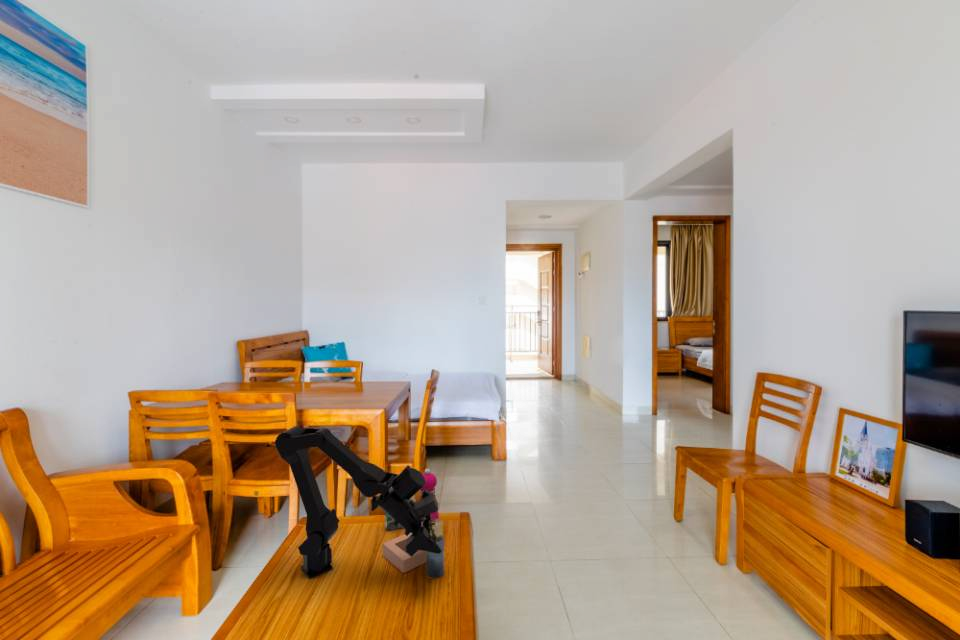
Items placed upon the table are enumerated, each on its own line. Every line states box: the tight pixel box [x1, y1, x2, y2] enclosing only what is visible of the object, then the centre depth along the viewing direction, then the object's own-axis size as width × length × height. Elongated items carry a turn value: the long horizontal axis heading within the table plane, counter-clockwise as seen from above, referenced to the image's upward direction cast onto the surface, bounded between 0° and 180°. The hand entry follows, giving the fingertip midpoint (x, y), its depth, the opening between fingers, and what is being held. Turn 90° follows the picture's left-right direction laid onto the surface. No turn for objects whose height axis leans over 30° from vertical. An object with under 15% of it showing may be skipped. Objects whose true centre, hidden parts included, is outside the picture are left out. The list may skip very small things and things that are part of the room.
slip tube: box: [426, 518, 445, 579], centre depth 118 cm, size 5×5×14 cm
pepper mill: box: [418, 468, 440, 520], centre depth 139 cm, size 7×7×20 cm
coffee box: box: [384, 487, 409, 532], centre depth 141 cm, size 8×3×13 cm, turn 111°
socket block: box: [382, 533, 427, 574], centre depth 125 cm, size 11×11×4 cm
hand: (440, 546), depth 118 cm, fingers closed on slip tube, 5 cm apart
